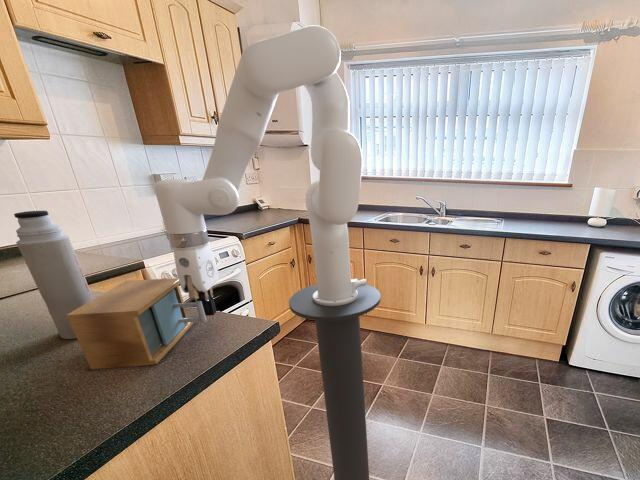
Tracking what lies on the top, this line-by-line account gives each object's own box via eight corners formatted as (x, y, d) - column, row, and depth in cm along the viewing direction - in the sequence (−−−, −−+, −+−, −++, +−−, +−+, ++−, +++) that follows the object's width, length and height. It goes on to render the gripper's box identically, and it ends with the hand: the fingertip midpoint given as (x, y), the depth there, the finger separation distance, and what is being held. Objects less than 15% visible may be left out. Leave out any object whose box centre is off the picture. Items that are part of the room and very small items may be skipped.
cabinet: (194, 323, 84) (181, 277, 79) (156, 364, 67) (137, 310, 63) (142, 326, 82) (125, 280, 77) (90, 369, 66) (65, 314, 61)
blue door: (210, 324, 80) (201, 287, 77) (195, 343, 72) (183, 303, 69) (182, 326, 80) (171, 289, 76) (164, 345, 72) (150, 305, 68)
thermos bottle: (102, 319, 86) (56, 207, 74) (106, 330, 80) (57, 211, 69) (60, 330, 81) (4, 211, 69) (61, 342, 75) (0, 216, 64)
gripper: (192, 247, 67) (213, 327, 75) (219, 231, 81) (234, 300, 88) (152, 248, 67) (177, 329, 74) (186, 232, 80) (204, 302, 88)
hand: (208, 313), depth 81 cm, fingers closed
